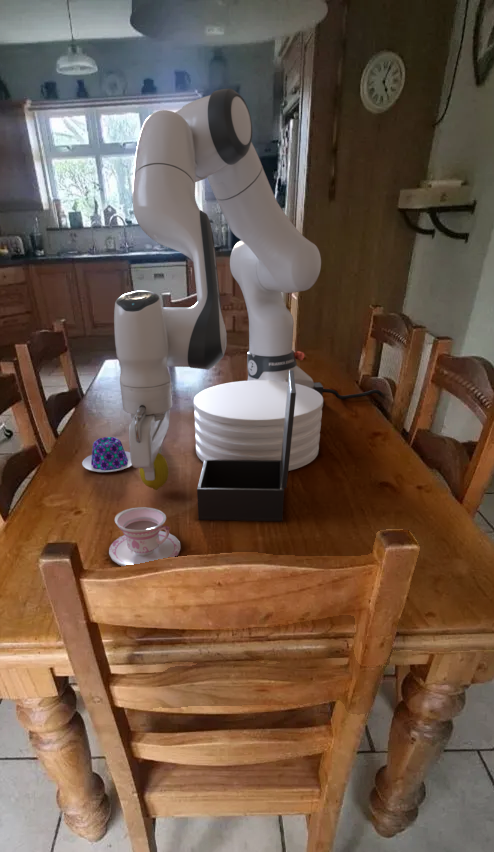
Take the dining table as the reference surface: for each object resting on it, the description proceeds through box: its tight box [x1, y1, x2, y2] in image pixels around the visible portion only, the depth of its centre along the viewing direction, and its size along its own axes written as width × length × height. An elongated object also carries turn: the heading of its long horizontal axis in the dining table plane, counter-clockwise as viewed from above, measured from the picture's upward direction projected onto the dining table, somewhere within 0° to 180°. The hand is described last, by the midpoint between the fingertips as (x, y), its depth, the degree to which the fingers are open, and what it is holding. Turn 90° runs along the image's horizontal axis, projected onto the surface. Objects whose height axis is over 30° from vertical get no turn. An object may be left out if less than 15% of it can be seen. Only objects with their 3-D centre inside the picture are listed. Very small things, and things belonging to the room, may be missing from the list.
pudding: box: [81, 436, 133, 473], centre depth 120 cm, size 12×12×5 cm
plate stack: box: [193, 380, 324, 472], centre depth 122 cm, size 28×28×12 cm
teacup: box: [108, 506, 182, 567], centre depth 90 cm, size 12×12×6 cm
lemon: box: [139, 453, 170, 491], centre depth 105 cm, size 6×6×8 cm
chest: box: [196, 459, 285, 522], centre depth 102 cm, size 15×13×6 cm
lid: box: [281, 370, 296, 489], centre depth 95 cm, size 16×13×1 cm
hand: (154, 471), depth 105 cm, fingers closed on lemon, 5 cm apart
